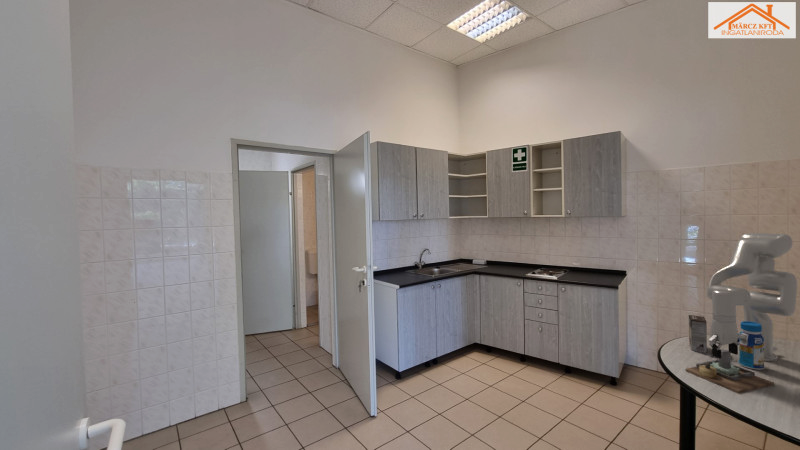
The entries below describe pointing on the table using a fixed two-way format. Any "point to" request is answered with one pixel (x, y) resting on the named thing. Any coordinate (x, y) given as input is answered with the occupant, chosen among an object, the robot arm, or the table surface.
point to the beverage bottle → (751, 346)
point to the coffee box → (697, 333)
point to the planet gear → (725, 364)
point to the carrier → (730, 377)
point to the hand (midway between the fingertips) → (725, 355)
